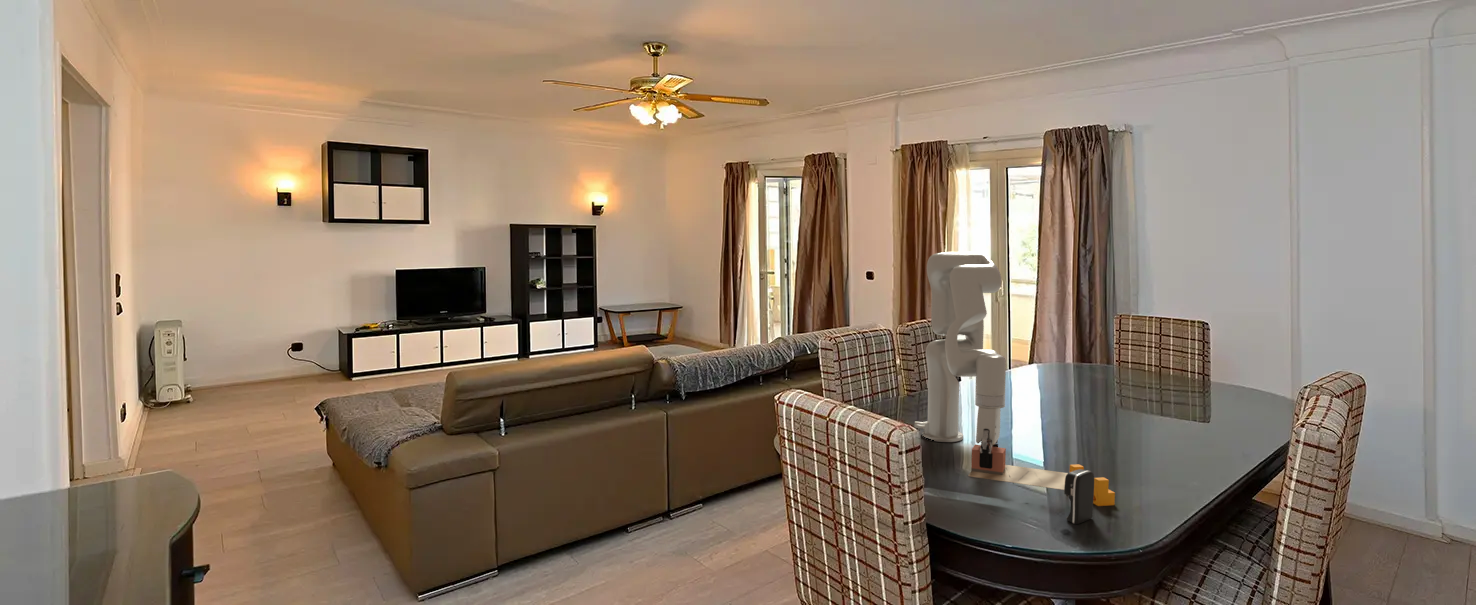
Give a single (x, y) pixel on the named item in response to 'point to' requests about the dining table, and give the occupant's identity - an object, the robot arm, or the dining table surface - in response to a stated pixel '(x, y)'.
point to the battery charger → (1080, 495)
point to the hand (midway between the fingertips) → (988, 462)
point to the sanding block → (997, 461)
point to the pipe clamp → (1099, 489)
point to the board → (1027, 477)
